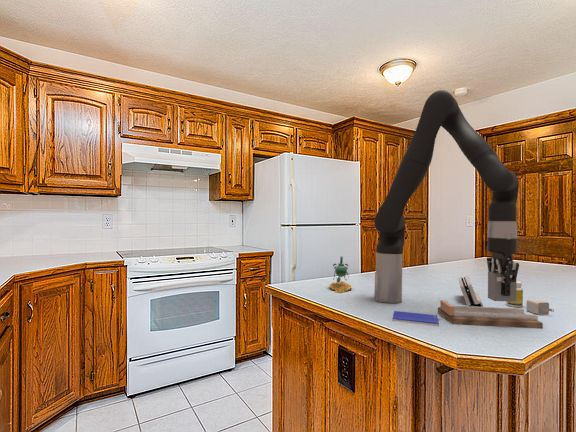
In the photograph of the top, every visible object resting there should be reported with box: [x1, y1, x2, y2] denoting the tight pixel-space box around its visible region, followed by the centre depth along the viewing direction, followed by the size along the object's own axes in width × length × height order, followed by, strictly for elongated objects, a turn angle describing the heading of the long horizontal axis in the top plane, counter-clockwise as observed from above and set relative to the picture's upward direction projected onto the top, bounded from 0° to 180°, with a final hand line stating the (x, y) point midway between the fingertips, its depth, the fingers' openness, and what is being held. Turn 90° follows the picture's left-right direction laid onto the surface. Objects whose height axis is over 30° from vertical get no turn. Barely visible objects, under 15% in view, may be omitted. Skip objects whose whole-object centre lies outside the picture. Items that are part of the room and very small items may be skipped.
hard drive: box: [392, 310, 440, 327], centre depth 99 cm, size 2×8×12 cm
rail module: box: [487, 271, 516, 302], centre depth 100 cm, size 6×4×9 cm
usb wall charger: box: [525, 298, 555, 316], centre depth 107 cm, size 4×7×4 cm, turn 8°
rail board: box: [437, 299, 544, 329], centre depth 100 cm, size 24×12×4 cm, turn 84°
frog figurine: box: [328, 256, 353, 294], centre depth 140 cm, size 10×18×15 cm, turn 164°
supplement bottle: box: [505, 280, 524, 308], centre depth 117 cm, size 5×5×8 cm
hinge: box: [457, 275, 484, 307], centre depth 123 cm, size 17×5×10 cm, turn 155°
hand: (501, 293), depth 100 cm, fingers closed on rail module, 4 cm apart
